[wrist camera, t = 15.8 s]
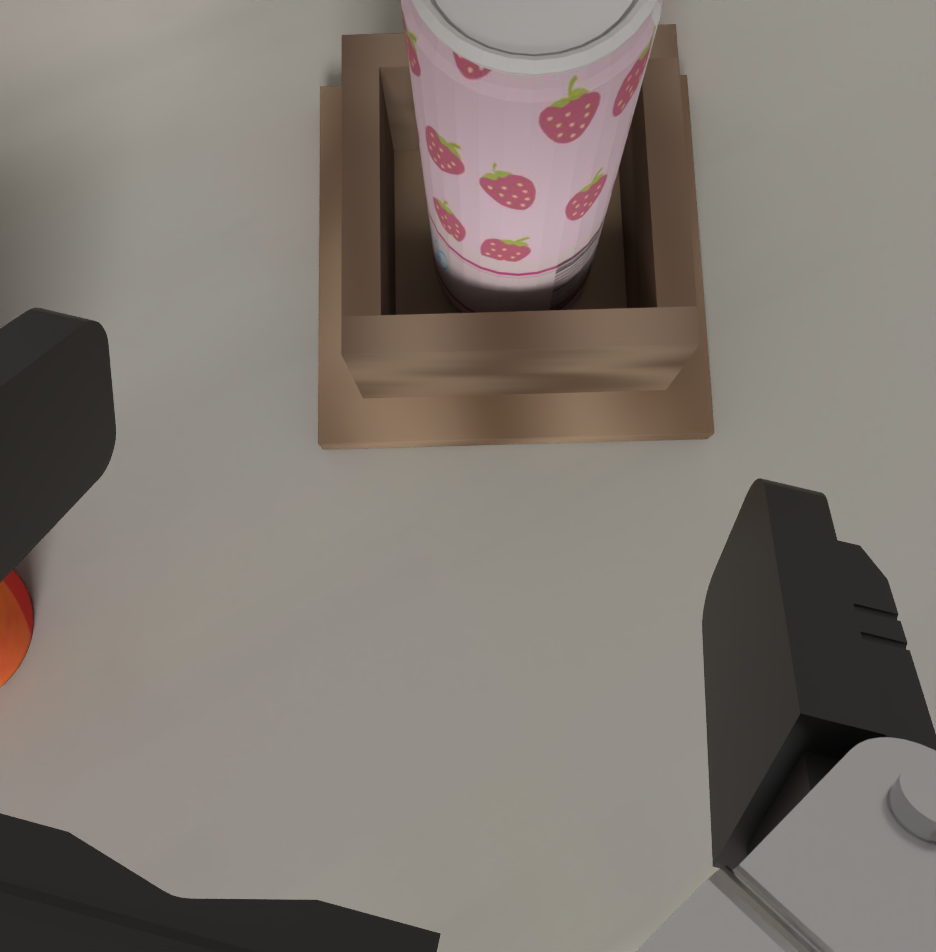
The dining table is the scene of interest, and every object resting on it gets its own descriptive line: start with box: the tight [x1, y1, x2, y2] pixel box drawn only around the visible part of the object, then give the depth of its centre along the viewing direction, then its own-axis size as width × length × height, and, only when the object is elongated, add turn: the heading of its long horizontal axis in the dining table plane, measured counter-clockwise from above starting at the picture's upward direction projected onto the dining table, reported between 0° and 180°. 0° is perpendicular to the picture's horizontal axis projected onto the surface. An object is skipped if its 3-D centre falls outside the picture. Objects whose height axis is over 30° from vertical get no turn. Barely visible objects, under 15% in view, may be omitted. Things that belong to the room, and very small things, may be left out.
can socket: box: [318, 24, 714, 449], centre depth 31 cm, size 14×14×6 cm
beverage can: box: [401, 0, 663, 313], centre depth 25 cm, size 6×6×15 cm
